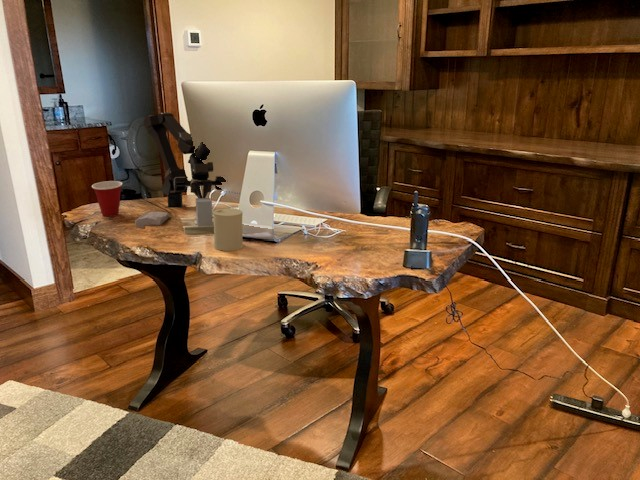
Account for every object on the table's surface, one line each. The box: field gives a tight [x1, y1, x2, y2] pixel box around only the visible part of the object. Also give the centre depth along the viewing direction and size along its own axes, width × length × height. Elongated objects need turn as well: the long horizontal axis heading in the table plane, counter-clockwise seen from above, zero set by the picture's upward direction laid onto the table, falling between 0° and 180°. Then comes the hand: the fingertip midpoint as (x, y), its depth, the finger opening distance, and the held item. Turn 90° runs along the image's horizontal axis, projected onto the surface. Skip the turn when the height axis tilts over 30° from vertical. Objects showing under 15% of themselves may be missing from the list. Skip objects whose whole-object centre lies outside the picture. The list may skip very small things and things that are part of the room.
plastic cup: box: [91, 180, 123, 217], centre depth 194 cm, size 11×11×12 cm
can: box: [212, 207, 244, 252], centre depth 164 cm, size 9×9×12 cm
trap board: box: [180, 215, 214, 238], centre depth 184 cm, size 20×15×3 cm
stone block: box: [134, 211, 170, 229], centre depth 187 cm, size 12×5×10 cm
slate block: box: [195, 197, 213, 226], centre depth 183 cm, size 5×5×9 cm
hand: (203, 203), depth 185 cm, fingers closed
